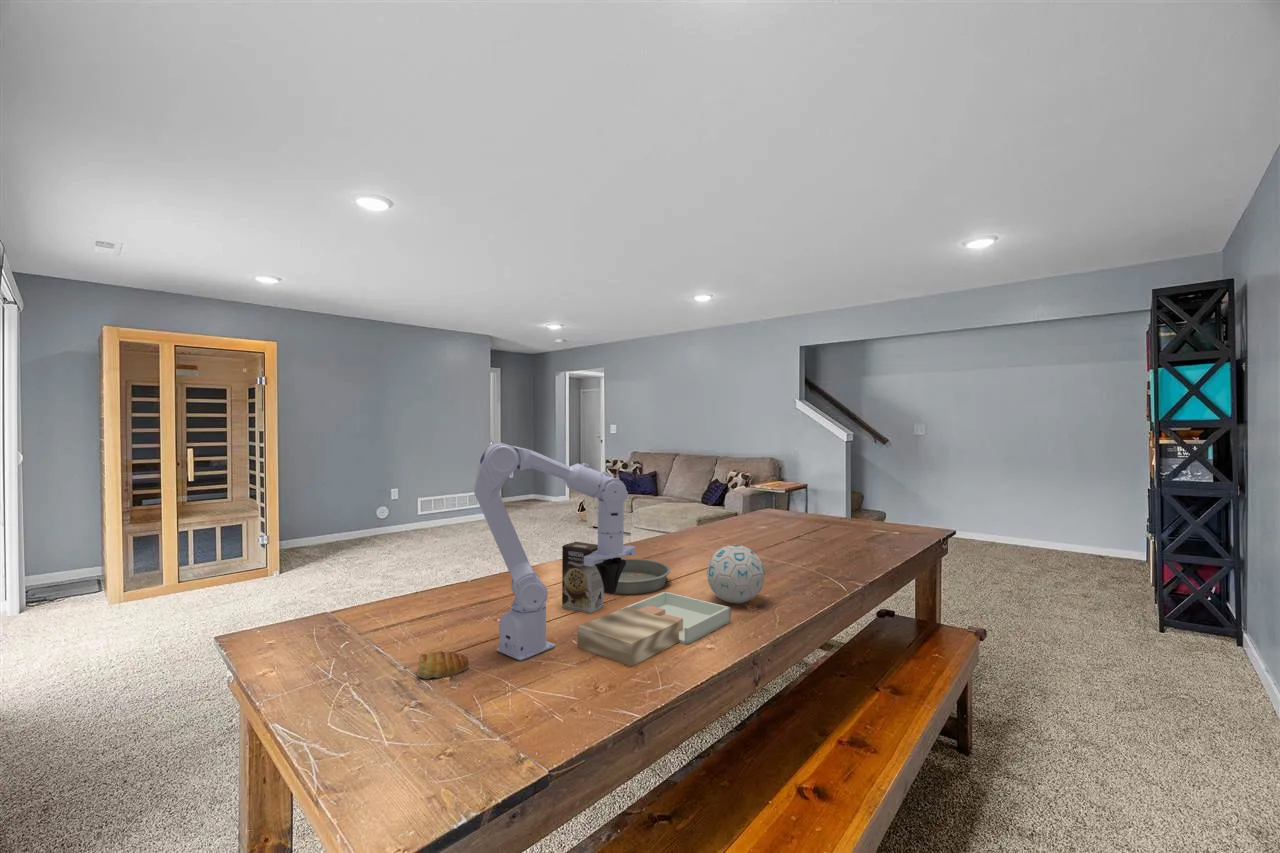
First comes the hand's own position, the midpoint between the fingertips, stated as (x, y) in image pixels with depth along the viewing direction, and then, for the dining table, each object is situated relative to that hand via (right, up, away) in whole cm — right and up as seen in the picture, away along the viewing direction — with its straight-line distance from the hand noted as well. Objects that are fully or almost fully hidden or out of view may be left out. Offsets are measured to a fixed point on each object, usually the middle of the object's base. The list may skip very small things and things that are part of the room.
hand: (610, 592), depth 128 cm
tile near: (+13, -9, +3) cm, 16 cm away
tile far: (+9, -7, +9) cm, 14 cm away
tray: (+15, -10, +9) cm, 20 cm away
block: (+4, -10, -4) cm, 12 cm away
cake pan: (+3, -10, +42) cm, 43 cm away
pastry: (-32, -11, -17) cm, 38 cm away
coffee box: (-8, -10, +20) cm, 24 cm away
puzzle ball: (+32, -10, +25) cm, 42 cm away
